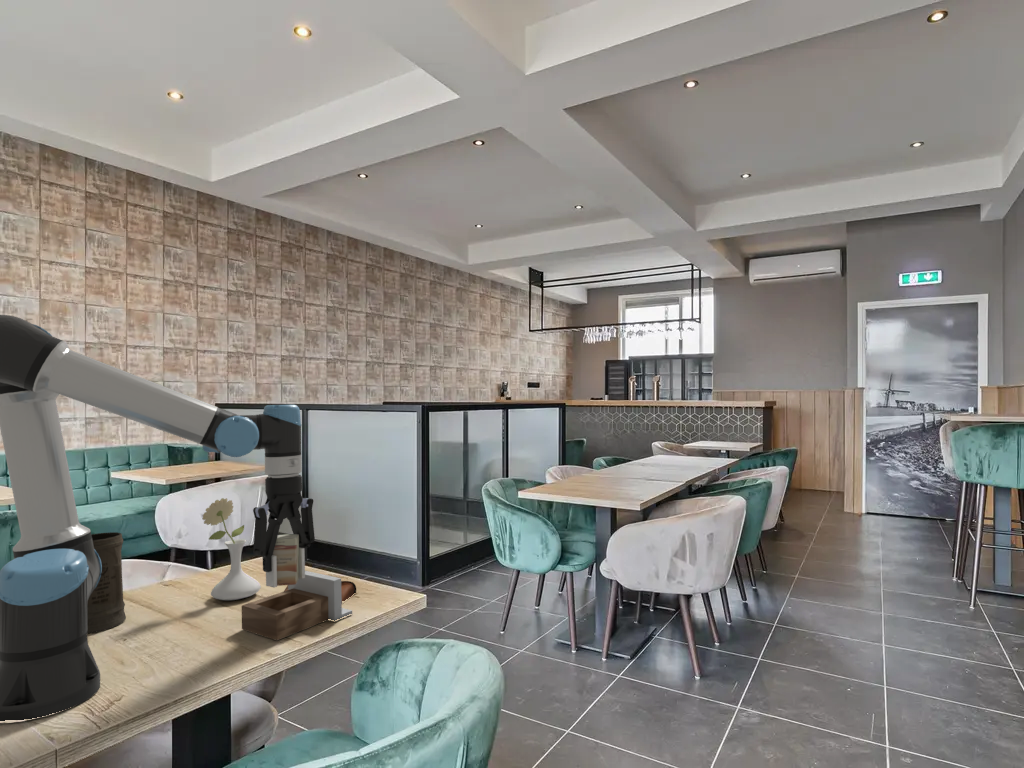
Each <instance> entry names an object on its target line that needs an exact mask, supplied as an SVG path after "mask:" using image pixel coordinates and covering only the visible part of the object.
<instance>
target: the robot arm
mask: <svg viewBox="0 0 1024 768" xmlns="http://www.w3.org/2000/svg"><path fill="white" fill-rule="evenodd" d="M60 395H61V396H62V397H66V398H69V399H72V400H75V401H77V402H80V403H83V404H86V405H89V406H90V407H91V406H92V407H93V408H94V407H95V408H97V409H100V410H103V411H106V412H109V413H111V414H114V415H116V416H119V417H123V418H124V419H125V418H126V419H128V420H130V421H134V422H137V423H140V424H142V425H145V426H148V427H151V428H154V429H156V430H160V431H162V432H165V433H168V434H170V435H174V436H177V437H179V438H182V439H185V440H188V441H190V442H193V443H196V444H199V445H202V450H203V451H204V452H205V453H217V454H221V453H222V454H223V455H225V456H228V457H231V458H240V457H244V456H247V455H248V454H250V453H251V452H253V451H255V450H264V475H266V476H267V477H266V478H265V479H264V483H265V484H264V486H265V488H264V489H265V490H264V491H265V494H266V500H265V502H264V504H263V505H261V506H259V507H258V506H257V507H253V509H252V513H253V515H254V531H253V532H254V534H253V535H254V536H253V550H252V553H253V555H257V556H261V557H262V571H263V572H265V586H266V587H269V588H277V587H278V586H277V558H276V556H275V555H273V552H274V548H275V544H276V540H277V536H278V535H279V532H280V527H281V525H282V524H283V522H284V520H286V519H287V521H289V525H290V527H291V531H292V534H299V578H305V571H306V561H307V560H308V548H310V546H311V543H314V542H315V541H316V539H315V528H314V517H313V506H314V499H313V498H308V497H303V495H302V494H301V493H302V491H303V476H302V475H301V473H302V472H303V466H302V465H303V464H302V463H303V461H302V422H301V410H300V407H299V406H298V405H297V404H272V405H271V404H268V405H265V406H264V408H263V412H262V413H260V414H241V415H239V414H236V413H233V412H231V411H229V410H226V409H223V408H220V407H218V406H215V405H213V404H210V403H208V402H205V401H203V400H200V399H198V398H196V397H193V396H190V395H187V394H185V393H183V392H180V391H177V390H175V389H173V388H169V387H167V386H164V385H162V384H159V383H156V382H154V381H152V380H149V379H146V378H144V377H142V376H138V375H136V374H134V373H131V372H128V371H126V370H123V369H121V368H117V367H115V366H113V365H110V364H107V363H105V362H102V361H100V360H97V359H95V358H93V357H90V356H87V355H85V354H82V353H79V352H77V351H74V350H72V349H70V347H69V345H68V342H67V341H66V340H63V339H60V338H57V337H55V336H54V335H52V333H51V332H48V330H46V329H44V328H43V327H41V326H39V325H37V324H34V323H31V322H29V321H27V320H25V319H23V318H20V317H17V316H14V315H8V314H0V434H1V440H2V443H3V450H4V454H5V460H6V466H7V470H8V475H9V479H10V485H11V491H12V496H13V501H14V505H15V511H16V515H17V521H18V527H19V532H20V538H19V540H18V541H17V542H16V544H15V545H14V546H13V547H12V554H13V559H12V560H10V561H8V562H7V563H6V564H4V565H3V566H2V568H1V569H0V721H5V720H24V719H32V718H37V717H42V716H46V715H49V714H52V713H56V712H59V711H62V710H65V709H67V710H69V709H68V708H70V707H72V708H74V707H76V706H78V705H80V704H82V703H84V702H86V701H87V700H89V699H91V698H92V697H93V696H94V695H95V694H97V692H98V691H99V690H100V688H101V671H100V668H99V667H98V666H99V665H98V664H97V662H96V660H95V657H94V654H93V653H92V650H91V648H90V645H89V641H88V633H87V630H88V627H87V603H88V599H89V597H90V595H91V593H92V592H93V590H94V589H95V588H96V586H97V584H98V582H99V580H100V577H101V575H100V574H101V571H102V564H101V560H100V557H99V555H98V553H97V552H96V550H95V549H94V545H93V540H92V536H91V534H92V531H91V528H89V527H87V526H85V525H82V523H80V520H79V514H78V511H77V505H76V501H75V495H74V489H73V484H72V478H71V473H70V470H69V463H68V458H67V453H66V447H65V443H64V437H63V432H62V427H61V421H60V416H59V410H58V405H57V398H58V397H59V396H60ZM73 706H74V707H73ZM70 709H71V708H70ZM65 711H66V710H65ZM62 712H63V711H62ZM59 713H60V712H59Z"/></svg>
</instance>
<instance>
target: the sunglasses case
mask: <svg viewBox="0 0 1024 768" xmlns="http://www.w3.org/2000/svg"><path fill="white" fill-rule="evenodd" d="M287 590H288V585H286V587H285V588H284V590H283V592H284V591H287ZM354 593H356V594H357V585H356V584H355V582H354V581H349V580H341V597H342V601H345V600H346V599H348V598H349V597H351V596H352V595H353V594H354ZM354 595H355V594H354ZM354 595H353V596H354ZM353 596H352V597H353ZM352 597H351V598H352ZM349 599H350V598H349ZM349 599H348V600H349Z"/></svg>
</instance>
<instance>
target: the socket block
mask: <svg viewBox="0 0 1024 768" xmlns="http://www.w3.org/2000/svg"><path fill="white" fill-rule="evenodd" d="M328 619H329V617H328V597H327V596H323V595H319V594H315V593H311V592H306V591H302V590H298V589H294V588H293V589H290V590H287V591H284V590H283V591H282V592H278V593H276V594H273V595H272V594H271V595H269V596H267V597H263V598H260V599H257V600H255V601H251V602H248V603H245V604H243V605H242V604H241V630H244V631H247V632H249V633H252V634H255V635H258V636H259V635H260V636H262V637H265V638H268V639H270V640H275V641H279V640H281V639H284V638H286V637H289V636H291V635H294V634H296V633H299V632H302V631H304V630H306V629H309V628H311V627H314V626H316V625H318V623H319V624H321V623H324V622H326V621H328ZM325 620H326V621H325ZM323 621H324V622H323Z"/></svg>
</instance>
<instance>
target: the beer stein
mask: <svg viewBox="0 0 1024 768" xmlns="http://www.w3.org/2000/svg"><path fill="white" fill-rule="evenodd" d="M91 536H92V540H93V545H94V549H95V550H96V552H97V553H98V555H99V557H100V560H101V564H102V571H101V574H100V575H101V577H100V580H99V582H98V584H97V586H96V588H95V589H94V590H93V592H92V593H91V595H90V597H89V599H88V603H87V627H88V630H87V634H93V633H98V632H102V631H106V630H110V629H112V628H114V627H117V626H120V625H121V624H123V623H124V622H125V621H126V618H127V616H126V613H125V606H126V603H125V601H124V589H123V588H124V585H123V583H124V582H123V565H122V564H123V563H122V561H123V560H122V548H123V543H124V538H123V533H121V532H116V531H115V532H114V531H113V532H111V531H110V532H99V533H91Z"/></svg>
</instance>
